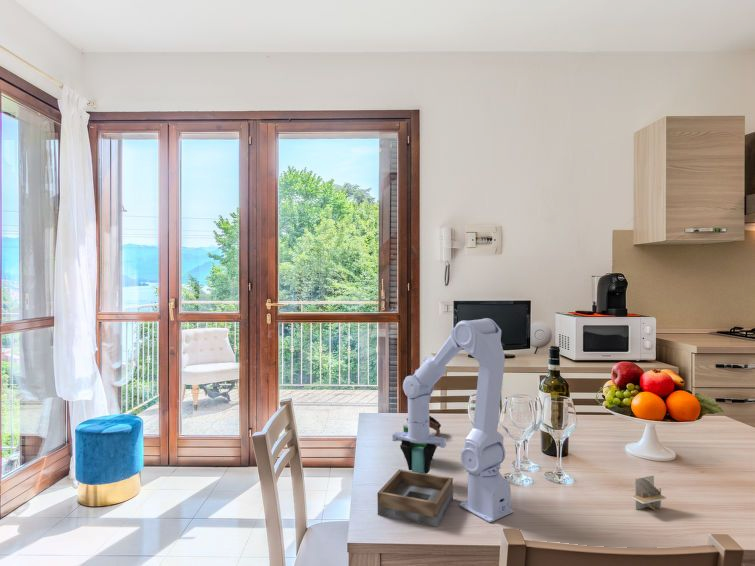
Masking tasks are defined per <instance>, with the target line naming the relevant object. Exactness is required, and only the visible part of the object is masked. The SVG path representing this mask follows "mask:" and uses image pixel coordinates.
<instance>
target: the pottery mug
mask: <svg viewBox="0 0 755 566" xmlns="http://www.w3.org/2000/svg"><path fill="white" fill-rule="evenodd" d="M441 427H442V424H441V423H440V422H439V421H438V420H437V419H435V418H434V417H432V416H431V415H429V429H430V428H431V429H433V430H434V431H435V432H436V433H435V436H437V437H440V436H439V435H441V434H440V433H441V430H440V428H441Z"/></svg>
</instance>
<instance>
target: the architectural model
mask: <svg viewBox="0 0 755 566" xmlns="http://www.w3.org/2000/svg"><path fill="white" fill-rule="evenodd" d="M631 498H632V499H634V510H641V509H644V508H645V509H646V508H650V509H652V510H653V511H655V510H656V508H658V509H659V510H661V509H662V501H663V500H664V501H665V500H667V497H666V496H664V495H662V488H661V487H660V488H657V487H656V486H655V475H647V476H641V477H637V478H634V495H632V496H631Z"/></svg>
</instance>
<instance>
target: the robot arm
mask: <svg viewBox="0 0 755 566" xmlns="http://www.w3.org/2000/svg"><path fill="white" fill-rule="evenodd" d="M501 338H502V329H501V328H500V327H499V325H498V324H497V323H496V322H495V321H494V320H493V319H492V318H488V317H486V318H485V317H483V318H481V319H479V318H478V319H473V320H472V319H471V320H465V319H464V320H460V321H458V322H457V323H456V324H455V327H453V328H451V330H450V335H449V336H448V338H447V339H446V340H445V342H444V343H443V345H442V346H441V347H440V349H439V350H438V352H437V353H436V354H435V356H434V355H431V356H428V357H424V359H423V363H422V364H421V365H420V366H419V368H418V369H415V370H414V374H413V375H407V376H405V378H404V379H403V382H402V390H403V392H404V394H405V396H406V397H407V418H408V432H404V431H403V432H400V431H399V432H398V431H394V432H393V433H392V442H401V444H400V445H399V446H400V450H401V451H402V453H403V456H404V455H405V458H406V459H405V458H404V459H405V460H406V461H405V462H406V464H407V468H408V471H412V448H414V443H418V444H425V445H426V446H425V447H424V449H423V450H424V456H425V473H427V474H429V472H430V471H431V466H432V461H433V457H434V455H435V452H436V450H437V448H438V447H440V448H442V449H445V448H446V446H447V438H445V437H440V436H438V437H437V436H436V435H434V434H430V427H429V416H430V401H431V398H432V397H431V396H432V395H433V392H434V389H435V384H437V382H438V381H439V380H440V379H441V378H442V377H443V376H444V374H445V373H446V370H447V367H446V366H447V364H449V363H450V362H451V360H452V359H454V358H455V357H456V356H457V354H459V353H460V351H462V350H464V351H465V352H466V353H468V354H469V355H470V356H471V357H472V358H474V359H475V360H476V361H477V362H478V364H479V366H478V374H477V384H476V385H477V386H476V395H475V404H474V405H475V406H474V413H473V414H474V416H473V426H472V428H471V430H470V432H469V433H468V434H467V436H466V438H465V441H464V446H463V447H462V449H461V451H460V461H461V464H462V467H463V468H464V469H465V472H466V473H467V500H466V501H463V502H461V503H459V507H461V508H463V509H465V510H466V511H469V512H470V513H472V514H474V515H475V516H477V517H479V518H481V519H483V520H484V521H486V522H489V523H493V522H495V521H496V520H499V519H501V518H503V517H506V516H508V515H510V514H512V513H513V512H514V509H512V507H511V505H512V504H511V502H512V501H511V491H512V490H511V484H510V481H509V480H508V479H507V478H505V477H504V476H503V475H502V474H501V472H500V469H501V464H502V463H503V462H504V461H505V459H506V449H505V446H504V439H505V438H504V435H503V434H501V433H500V432H499V431H498V425H499V418H500V408H501V399H502V398H501V397H502V389H503V381H504V370H505V361H506V357H505V352H504V349H503V348H504V347H503V345H502V341H501Z"/></svg>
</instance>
